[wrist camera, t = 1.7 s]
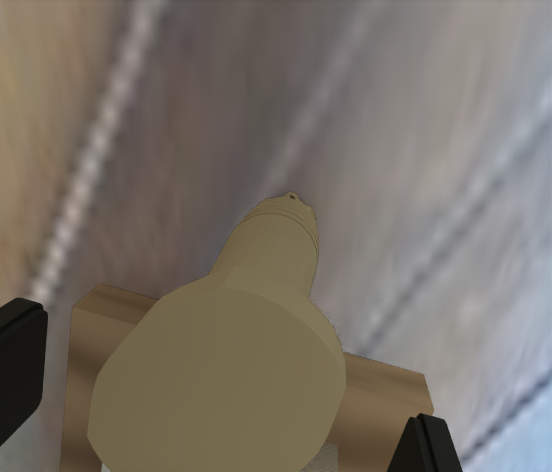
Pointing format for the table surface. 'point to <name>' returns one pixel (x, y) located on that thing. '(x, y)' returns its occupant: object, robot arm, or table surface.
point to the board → (345, 429)
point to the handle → (228, 362)
